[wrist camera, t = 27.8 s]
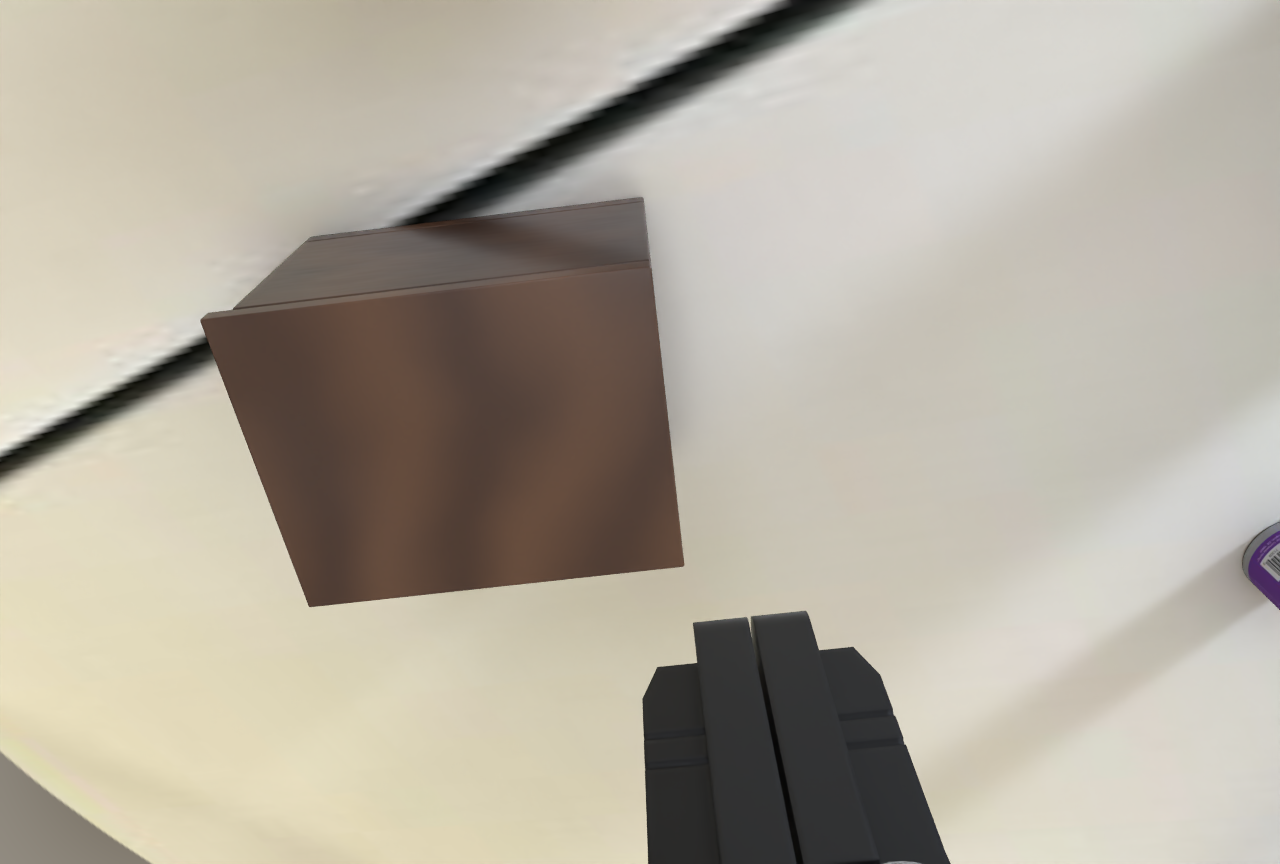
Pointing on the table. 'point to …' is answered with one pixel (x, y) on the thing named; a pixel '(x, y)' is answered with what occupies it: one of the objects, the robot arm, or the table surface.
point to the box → (458, 252)
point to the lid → (459, 432)
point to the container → (1265, 563)
